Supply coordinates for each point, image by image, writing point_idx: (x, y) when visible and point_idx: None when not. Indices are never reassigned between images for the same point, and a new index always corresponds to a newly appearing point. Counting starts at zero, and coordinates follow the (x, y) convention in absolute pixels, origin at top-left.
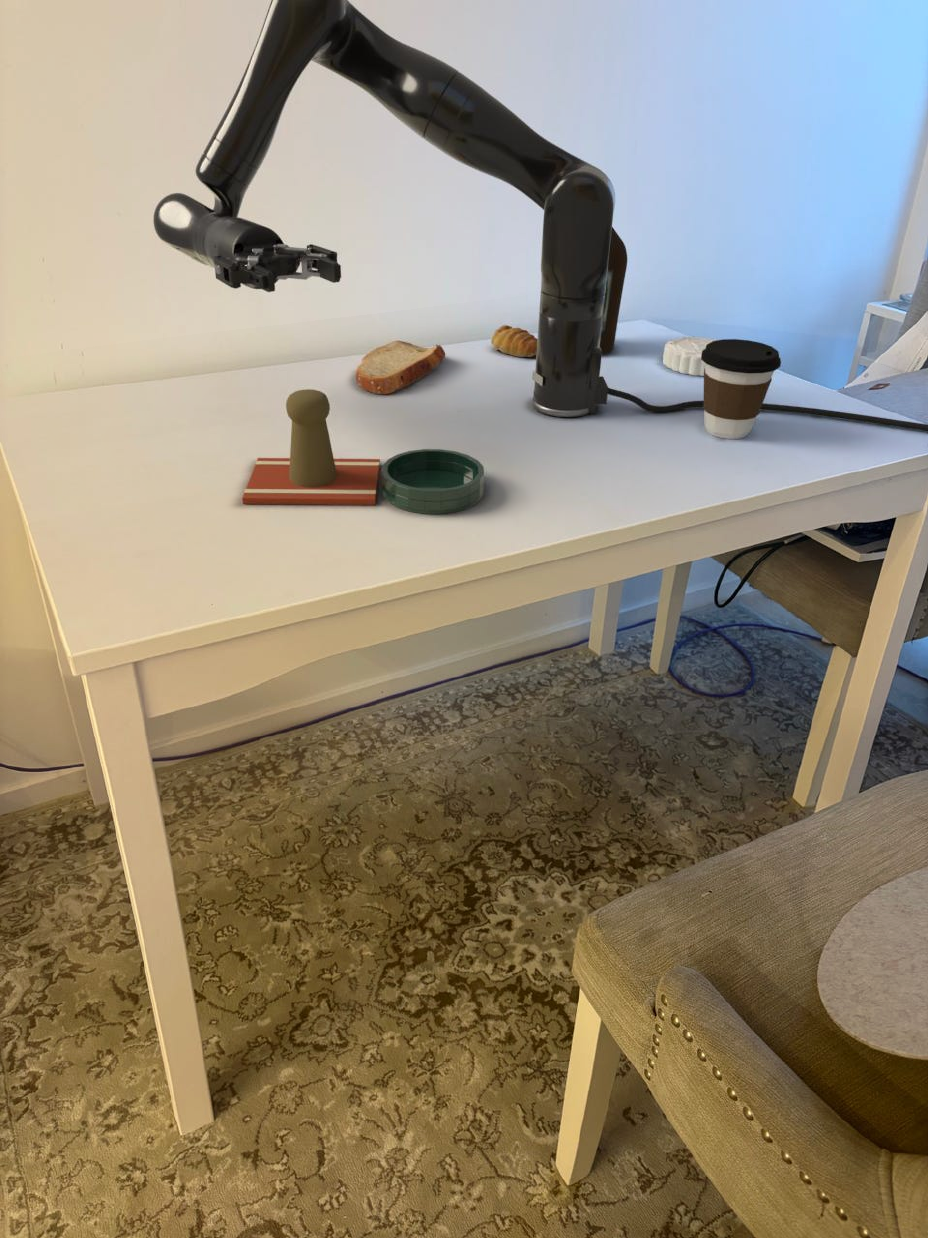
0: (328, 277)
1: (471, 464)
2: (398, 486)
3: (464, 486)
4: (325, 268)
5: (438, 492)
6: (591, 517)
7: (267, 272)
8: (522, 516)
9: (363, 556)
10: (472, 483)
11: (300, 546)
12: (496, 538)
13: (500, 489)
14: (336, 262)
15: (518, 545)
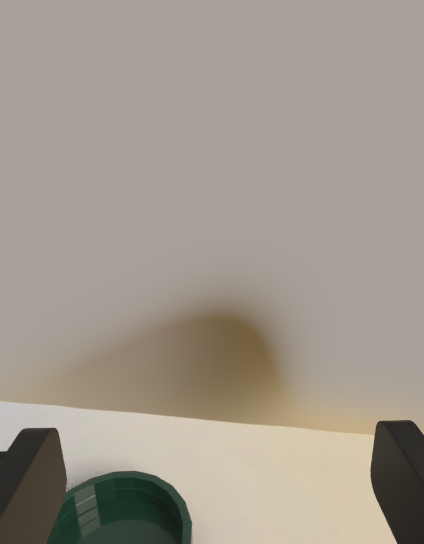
0: (40, 537)
1: None
2: (190, 518)
3: (123, 472)
4: (20, 533)
5: (159, 478)
6: (49, 425)
7: (409, 421)
8: (93, 454)
9: (289, 468)
10: (108, 474)
11: (356, 521)
12: (152, 436)
13: None
14: (16, 439)
15: (147, 420)
